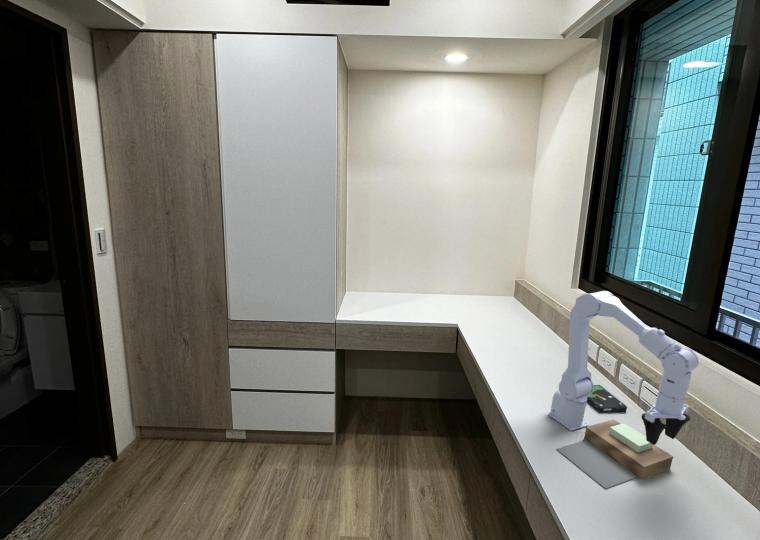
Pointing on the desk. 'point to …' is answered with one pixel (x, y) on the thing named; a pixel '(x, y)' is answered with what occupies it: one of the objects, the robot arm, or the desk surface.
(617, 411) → the disk drive
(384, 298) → the desk surface
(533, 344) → the desk surface
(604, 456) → the mat
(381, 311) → the desk surface
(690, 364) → the robot arm
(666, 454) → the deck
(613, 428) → the pale green block
